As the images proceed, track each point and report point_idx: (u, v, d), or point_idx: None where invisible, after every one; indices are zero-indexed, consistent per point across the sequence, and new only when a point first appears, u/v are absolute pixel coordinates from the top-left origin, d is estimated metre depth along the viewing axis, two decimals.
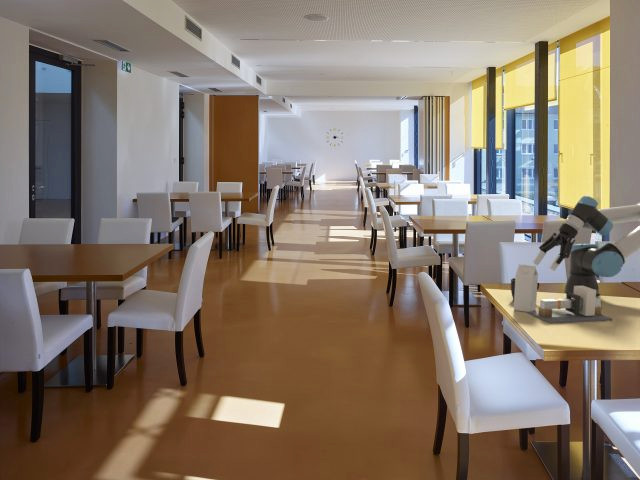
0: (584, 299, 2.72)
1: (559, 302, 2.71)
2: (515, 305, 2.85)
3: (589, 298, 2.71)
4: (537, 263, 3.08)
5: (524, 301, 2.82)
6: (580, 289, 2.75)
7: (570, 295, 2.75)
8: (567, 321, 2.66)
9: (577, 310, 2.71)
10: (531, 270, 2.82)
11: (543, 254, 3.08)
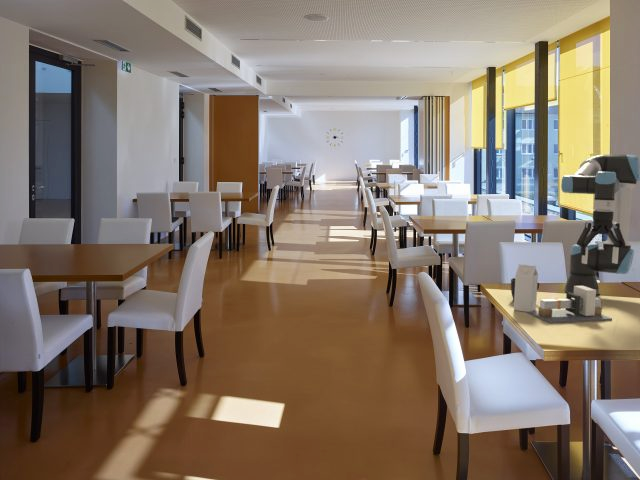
0: (584, 299, 2.72)
1: (559, 302, 2.71)
2: (515, 305, 2.85)
3: (589, 298, 2.71)
4: None
5: (524, 301, 2.82)
6: (580, 289, 2.75)
7: (570, 295, 2.75)
8: (567, 321, 2.66)
9: (577, 310, 2.71)
10: (531, 270, 2.82)
11: None
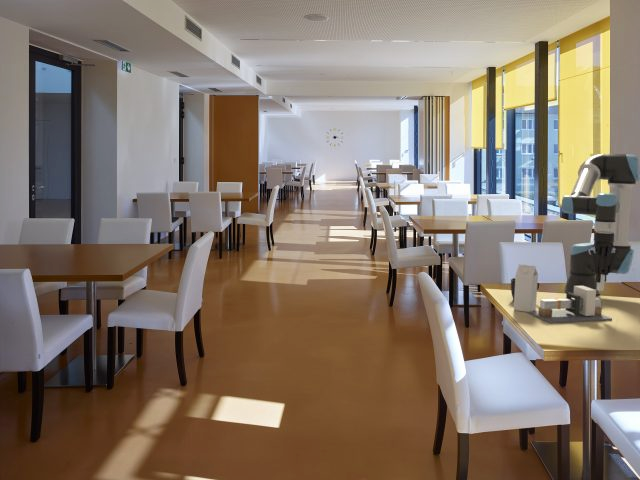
0: (584, 299, 2.72)
1: (559, 302, 2.71)
2: (515, 305, 2.85)
3: (589, 298, 2.71)
4: None
5: (524, 301, 2.82)
6: (580, 289, 2.75)
7: (570, 295, 2.75)
8: (567, 321, 2.66)
9: (577, 310, 2.71)
10: (531, 270, 2.82)
11: None
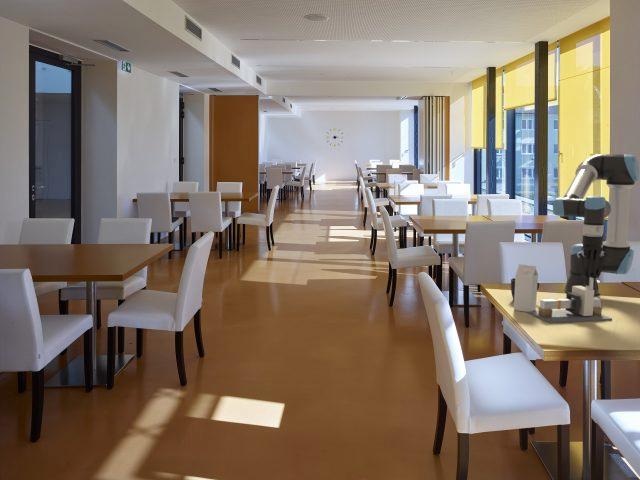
0: (582, 299, 2.72)
1: (559, 302, 2.71)
2: (515, 305, 2.85)
3: (587, 298, 2.71)
4: None
5: (524, 301, 2.82)
6: (578, 289, 2.74)
7: (570, 295, 2.75)
8: (567, 321, 2.66)
9: (577, 310, 2.71)
10: (531, 270, 2.82)
11: None
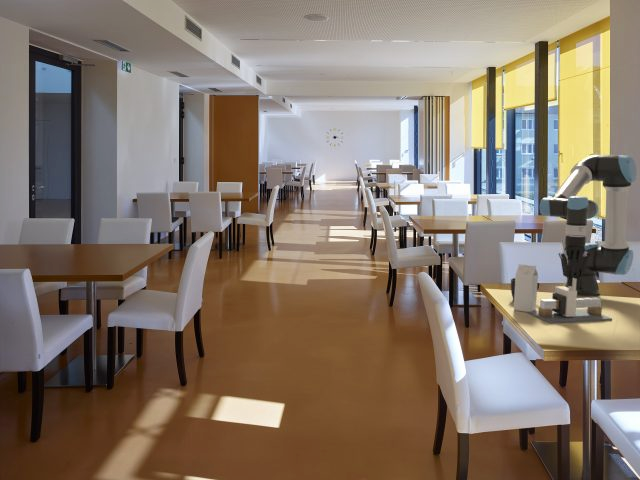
0: None
1: (559, 302, 2.71)
2: (515, 305, 2.85)
3: (570, 299, 2.69)
4: None
5: (524, 301, 2.82)
6: (561, 290, 2.73)
7: (556, 296, 2.73)
8: (567, 321, 2.66)
9: (563, 311, 2.70)
10: (531, 270, 2.82)
11: None
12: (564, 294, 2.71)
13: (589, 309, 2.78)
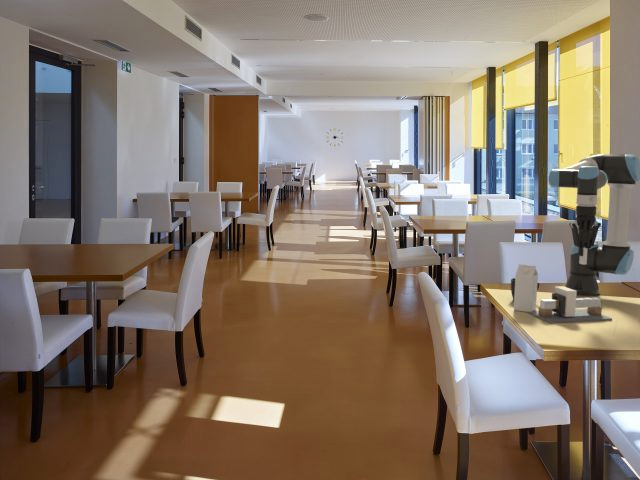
0: None
1: (559, 302, 2.71)
2: (515, 305, 2.85)
3: (569, 299, 2.69)
4: None
5: (524, 301, 2.82)
6: (561, 290, 2.73)
7: (555, 296, 2.73)
8: (567, 321, 2.66)
9: (562, 311, 2.70)
10: (531, 270, 2.82)
11: None
12: (563, 294, 2.71)
13: (589, 309, 2.78)
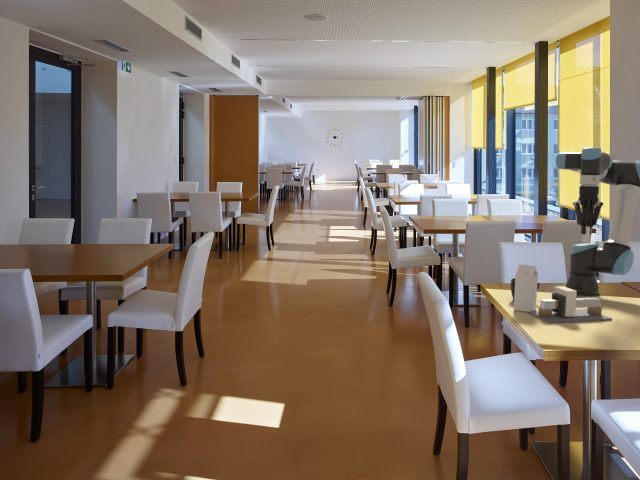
0: None
1: (559, 302, 2.71)
2: (515, 305, 2.85)
3: (569, 299, 2.69)
4: None
5: (524, 301, 2.82)
6: (561, 290, 2.73)
7: (555, 296, 2.73)
8: (567, 321, 2.66)
9: (562, 311, 2.70)
10: (531, 270, 2.82)
11: None
12: (563, 294, 2.71)
13: (589, 309, 2.78)
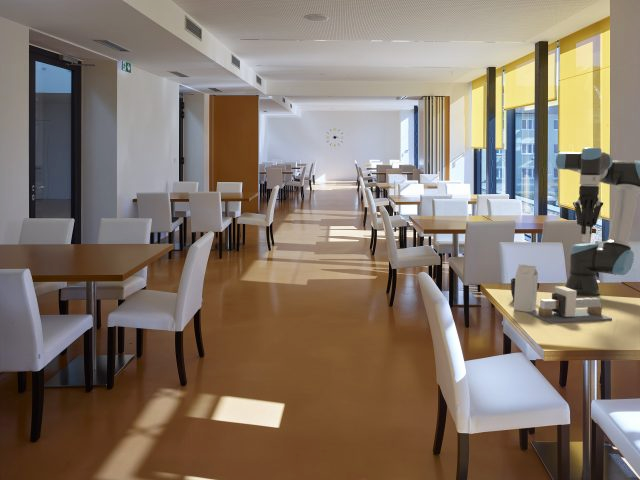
0: None
1: (559, 302, 2.71)
2: (515, 305, 2.85)
3: (569, 299, 2.69)
4: None
5: (524, 301, 2.82)
6: (561, 290, 2.73)
7: (555, 296, 2.73)
8: (567, 321, 2.66)
9: (562, 311, 2.70)
10: (531, 270, 2.82)
11: None
12: (563, 294, 2.71)
13: (589, 309, 2.78)
